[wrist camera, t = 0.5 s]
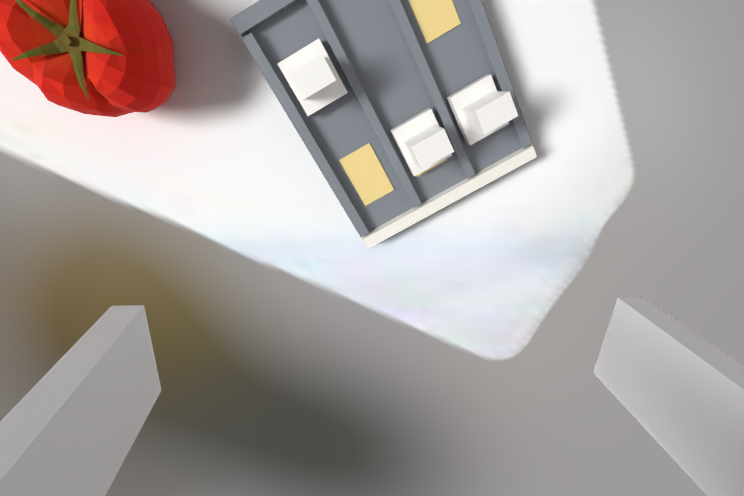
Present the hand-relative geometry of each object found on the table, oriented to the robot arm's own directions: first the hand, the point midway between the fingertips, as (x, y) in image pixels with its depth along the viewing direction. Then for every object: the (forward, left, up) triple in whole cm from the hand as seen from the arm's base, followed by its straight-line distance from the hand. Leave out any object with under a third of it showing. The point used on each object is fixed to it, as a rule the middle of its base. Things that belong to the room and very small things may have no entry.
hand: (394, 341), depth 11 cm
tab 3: (0, +11, -23) cm, 25 cm away
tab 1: (-8, +1, -23) cm, 24 cm away
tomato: (-16, -10, -24) cm, 31 cm away
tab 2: (0, +6, -23) cm, 23 cm away
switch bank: (-4, +6, -24) cm, 25 cm away
